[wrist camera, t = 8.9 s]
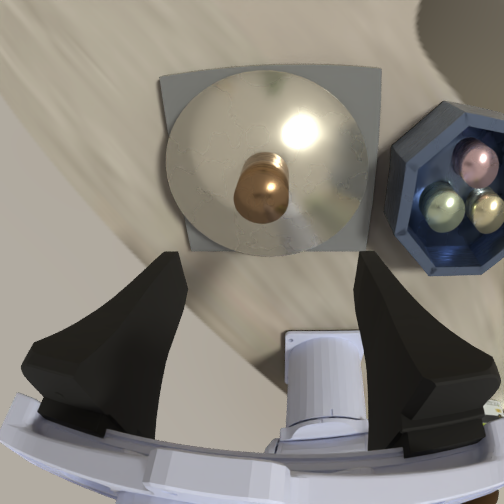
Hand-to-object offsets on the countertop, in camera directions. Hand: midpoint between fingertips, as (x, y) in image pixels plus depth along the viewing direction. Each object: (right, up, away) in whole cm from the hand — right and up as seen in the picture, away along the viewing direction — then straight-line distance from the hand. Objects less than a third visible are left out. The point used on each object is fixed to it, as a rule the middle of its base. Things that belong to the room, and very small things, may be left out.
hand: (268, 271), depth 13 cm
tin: (+14, +6, +6) cm, 17 cm away
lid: (0, +6, +7) cm, 9 cm away
